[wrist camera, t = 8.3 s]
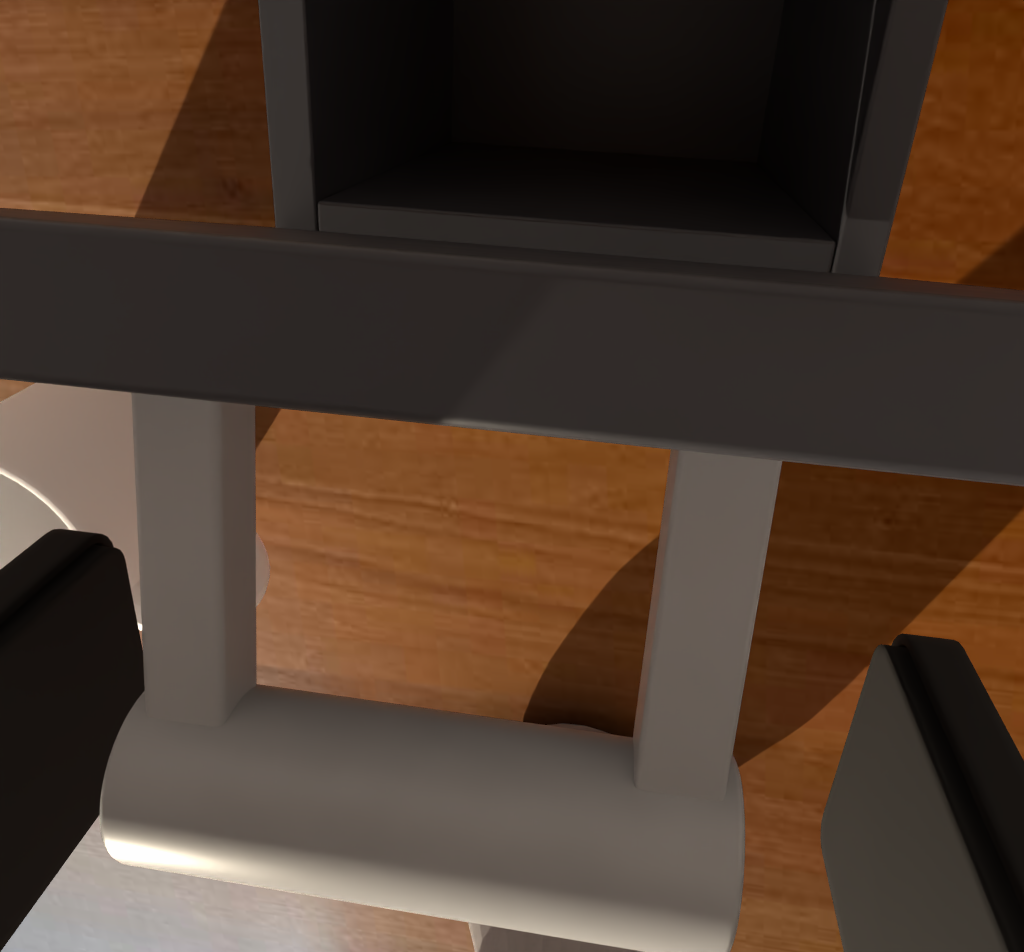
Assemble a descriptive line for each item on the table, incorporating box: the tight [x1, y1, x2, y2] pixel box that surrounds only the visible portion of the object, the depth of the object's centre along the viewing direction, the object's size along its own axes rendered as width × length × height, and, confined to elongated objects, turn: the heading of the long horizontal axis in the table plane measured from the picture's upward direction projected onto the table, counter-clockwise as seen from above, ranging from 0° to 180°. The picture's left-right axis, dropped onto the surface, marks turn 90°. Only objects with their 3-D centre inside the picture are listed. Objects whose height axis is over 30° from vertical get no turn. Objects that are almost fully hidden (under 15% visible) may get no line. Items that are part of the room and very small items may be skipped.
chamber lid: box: [0, 208, 1024, 952], centre depth 11 cm, size 13×12×5 cm
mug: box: [0, 383, 270, 631], centre depth 32 cm, size 12×8×10 cm
